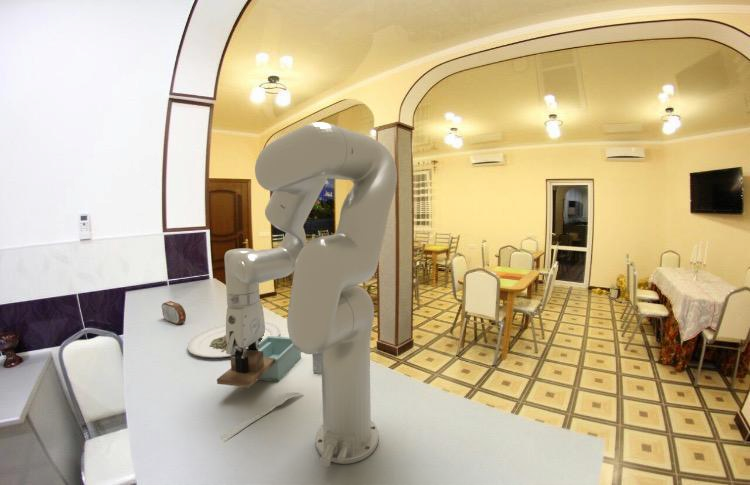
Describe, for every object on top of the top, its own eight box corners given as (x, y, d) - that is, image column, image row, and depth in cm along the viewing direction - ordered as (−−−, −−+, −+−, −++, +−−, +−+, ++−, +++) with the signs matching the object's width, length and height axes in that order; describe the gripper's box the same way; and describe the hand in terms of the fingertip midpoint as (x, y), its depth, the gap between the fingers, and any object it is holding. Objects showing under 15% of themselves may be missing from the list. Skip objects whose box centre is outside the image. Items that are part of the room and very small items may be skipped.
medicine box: (327, 374, 88) (326, 345, 87) (312, 373, 89) (311, 344, 88) (336, 361, 96) (335, 334, 95) (322, 360, 97) (321, 333, 96)
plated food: (199, 372, 91) (198, 361, 90) (179, 340, 113) (179, 331, 113) (294, 342, 110) (294, 333, 110) (261, 320, 133) (261, 312, 133)
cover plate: (249, 387, 74) (247, 366, 73) (217, 383, 75) (215, 363, 75) (275, 362, 85) (274, 344, 85) (247, 359, 87) (246, 341, 86)
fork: (217, 448, 65) (215, 437, 64) (299, 392, 81) (298, 382, 80) (224, 455, 63) (221, 443, 63) (306, 396, 79) (305, 386, 78)
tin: (187, 324, 129) (185, 304, 128) (179, 327, 126) (177, 306, 125) (169, 318, 137) (167, 299, 136) (161, 320, 134) (159, 301, 133)
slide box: (278, 382, 85) (277, 359, 84) (242, 378, 87) (241, 356, 86) (300, 357, 98) (300, 338, 98) (269, 354, 101) (268, 335, 100)
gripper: (235, 309, 69) (240, 387, 71) (274, 290, 85) (277, 354, 87) (206, 307, 71) (211, 384, 73) (250, 289, 87) (253, 352, 89)
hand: (247, 367), depth 80 cm, fingers closed on cover plate, 3 cm apart
